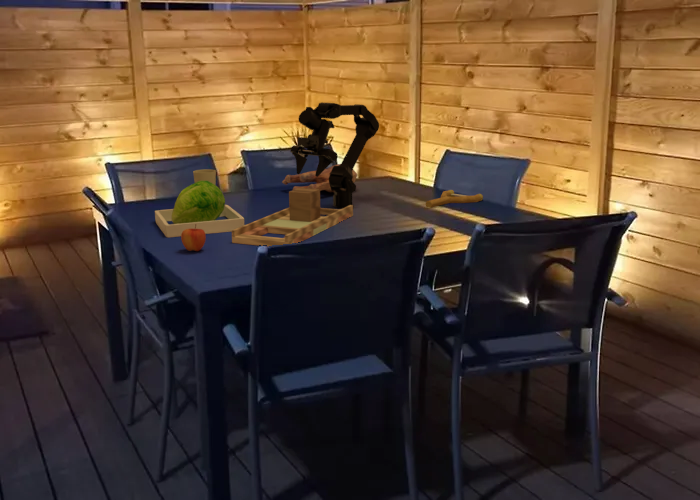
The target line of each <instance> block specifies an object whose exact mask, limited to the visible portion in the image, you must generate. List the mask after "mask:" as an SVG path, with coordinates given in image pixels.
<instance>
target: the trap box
mask: <svg viewBox="0 0 700 500" xmlns="http://www.w3.org/2000/svg"><path fill="white" fill-rule="evenodd" d="M353 206H354V205H353V204H352V205H349V206H347V207H345V208H326V207H325V208H324V207H320V218H318V219H316V220H314V221H312V222H304V221H293V220H290V213H289V207H286V208H284V209H282V210H278V211H276V212H274V213H272V214H269V215H267V216H264V217H262V218H259V219H257V220H255V221H252V222H250V223H247V224H244V226H242V227H239V228H237V229H234V230H232V231H231V243H232V244H241V245H249V246H251V245H252V246H259V245H261V247H264V246H263V245H267V246H266V247H269V246H272V245H283V244H292V243H298V242H300V243H301V241H302V242H303V241H305V240H308V239H309V238H311V237H313V236H315V235H317V234H319V233H321V232H323V231H325V230H327V229H329V228H332V227H334V226H336V225H338V224H339V222H340V223H342V222H343V220H344V221H345V220H348V219H349V217H350V218H351V217H353V216H354V207H353ZM325 215H326V216H325ZM347 218H348V219H347ZM341 221H342V222H341ZM266 234H275V235H277V234H278V235H284V236H283V237H275V236H274V237H273V236H264V235H266ZM298 244H299V243H298Z"/></svg>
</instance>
